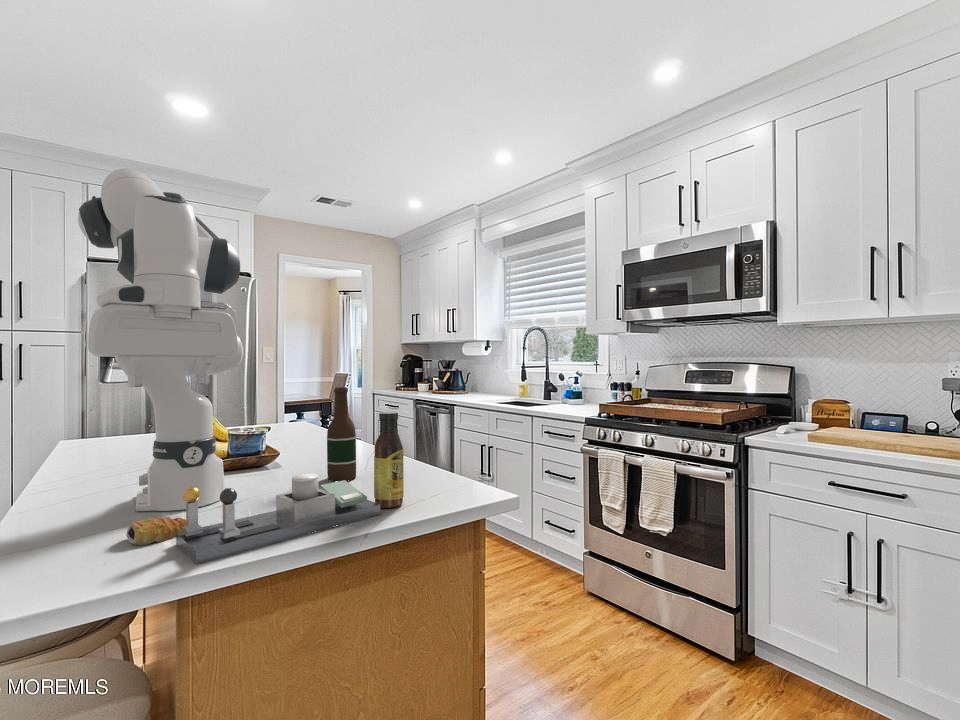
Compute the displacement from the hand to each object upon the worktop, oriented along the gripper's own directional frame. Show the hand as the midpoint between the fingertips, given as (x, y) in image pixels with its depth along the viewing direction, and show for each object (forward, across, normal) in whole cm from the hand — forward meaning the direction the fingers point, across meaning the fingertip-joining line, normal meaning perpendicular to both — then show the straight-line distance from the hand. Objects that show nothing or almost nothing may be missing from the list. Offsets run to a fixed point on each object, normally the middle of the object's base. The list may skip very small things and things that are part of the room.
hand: (170, 385), depth 78 cm
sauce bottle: (+28, -41, +2) cm, 49 cm away
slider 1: (+25, -4, -5) cm, 25 cm away
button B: (+23, -23, -1) cm, 32 cm away
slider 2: (+25, -8, +1) cm, 26 cm away
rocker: (+23, -31, 0) cm, 39 cm away
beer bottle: (+26, -49, -26) cm, 61 cm away
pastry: (+27, -2, -16) cm, 32 cm away
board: (+27, -19, -2) cm, 34 cm away
